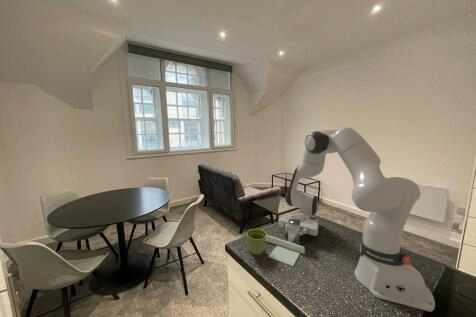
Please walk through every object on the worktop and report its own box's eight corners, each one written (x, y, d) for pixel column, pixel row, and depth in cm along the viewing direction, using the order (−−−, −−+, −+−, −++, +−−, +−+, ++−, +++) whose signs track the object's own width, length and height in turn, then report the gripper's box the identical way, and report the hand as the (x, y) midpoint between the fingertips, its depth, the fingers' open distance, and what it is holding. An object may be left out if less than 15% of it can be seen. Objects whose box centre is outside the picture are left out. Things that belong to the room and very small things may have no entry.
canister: (300, 241, 99) (301, 220, 98) (297, 246, 94) (298, 225, 93) (289, 237, 102) (290, 218, 101) (285, 243, 97) (286, 222, 96)
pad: (299, 254, 89) (300, 253, 89) (292, 266, 80) (293, 265, 80) (277, 246, 95) (277, 245, 95) (268, 257, 86) (268, 256, 86)
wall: (304, 253, 89) (304, 247, 89) (303, 254, 89) (304, 247, 88) (264, 239, 100) (264, 234, 100) (264, 240, 100) (264, 235, 99)
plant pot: (266, 246, 95) (266, 229, 94) (267, 258, 86) (267, 240, 84) (247, 244, 96) (247, 228, 95) (245, 257, 87) (246, 238, 85)
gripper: (283, 211, 113) (274, 220, 102) (320, 220, 102) (315, 231, 91) (283, 221, 114) (273, 231, 103) (320, 231, 103) (314, 243, 92)
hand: (293, 231), depth 97 cm, fingers closed on canister, 6 cm apart
